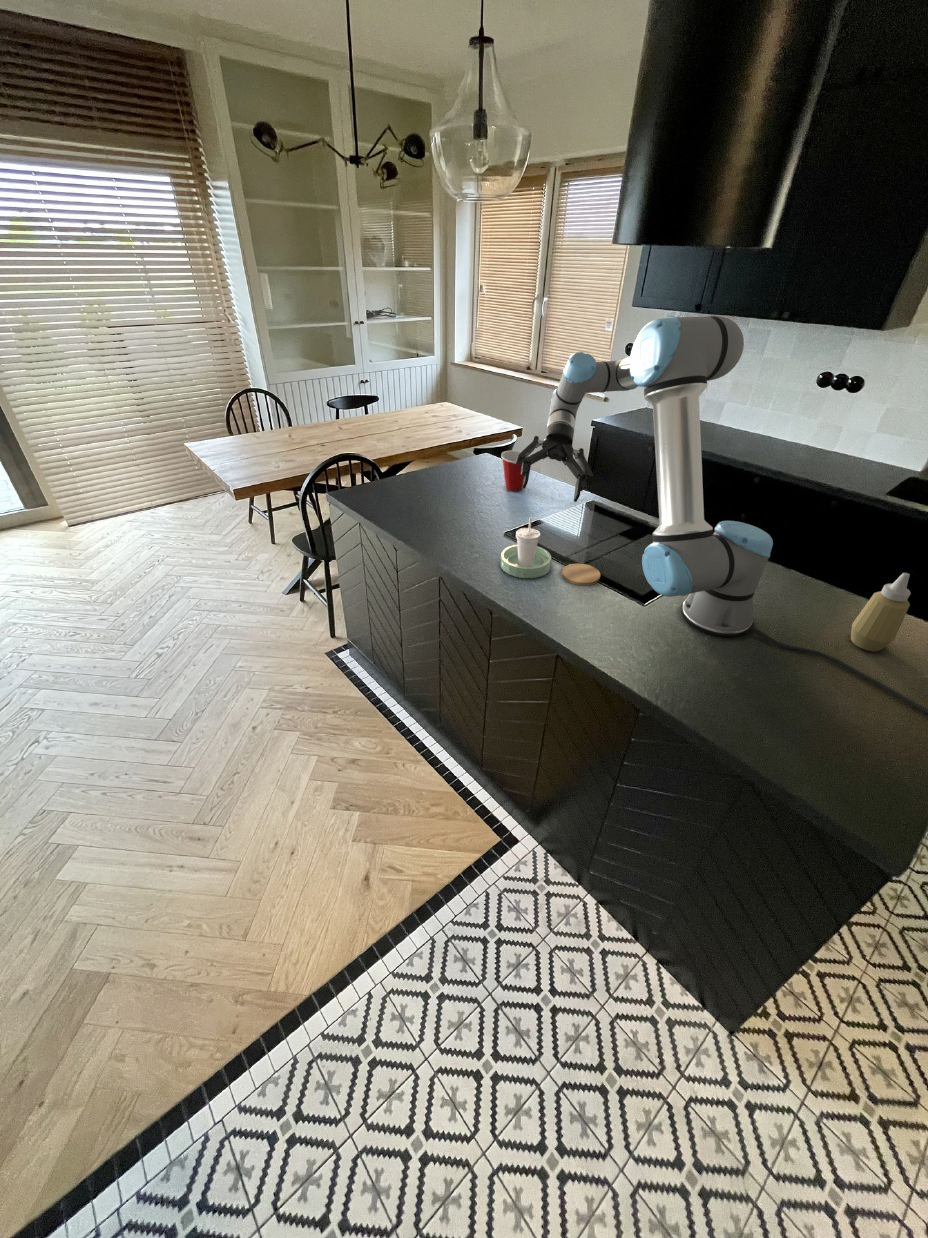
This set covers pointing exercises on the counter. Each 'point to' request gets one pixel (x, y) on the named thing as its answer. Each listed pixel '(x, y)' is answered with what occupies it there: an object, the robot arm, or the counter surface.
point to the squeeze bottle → (882, 616)
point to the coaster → (581, 574)
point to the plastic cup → (512, 471)
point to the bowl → (512, 567)
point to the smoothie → (527, 545)
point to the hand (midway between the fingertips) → (551, 491)
